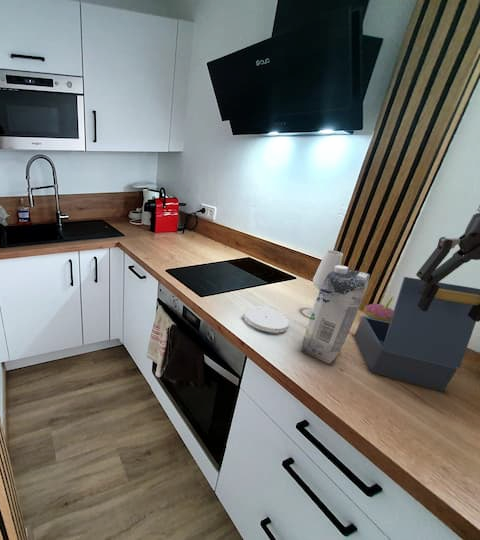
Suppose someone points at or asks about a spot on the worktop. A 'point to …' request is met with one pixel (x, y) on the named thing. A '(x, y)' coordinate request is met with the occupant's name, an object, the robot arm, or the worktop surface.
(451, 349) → the lid
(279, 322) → the plastic lid
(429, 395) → the worktop surface
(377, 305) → the cupcake
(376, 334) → the chest
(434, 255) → the robot arm
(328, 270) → the champagne flute
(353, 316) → the juice carton
